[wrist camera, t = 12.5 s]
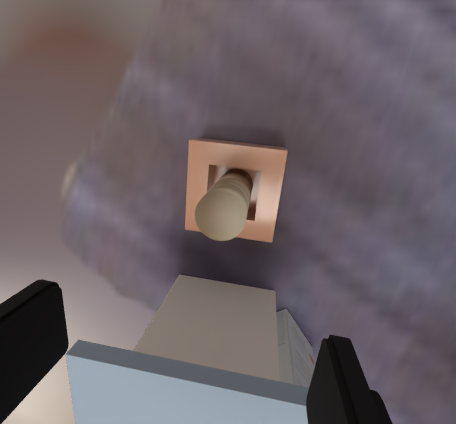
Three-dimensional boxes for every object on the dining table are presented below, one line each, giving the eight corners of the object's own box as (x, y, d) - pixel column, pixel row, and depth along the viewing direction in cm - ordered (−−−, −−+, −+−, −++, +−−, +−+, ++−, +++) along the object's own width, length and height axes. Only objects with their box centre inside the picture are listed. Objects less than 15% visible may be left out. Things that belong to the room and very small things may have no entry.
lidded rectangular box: (290, 250, 34) (321, 409, 15) (280, 300, 36) (295, 491, 17) (173, 232, 35) (65, 354, 16) (172, 282, 38) (77, 436, 19)
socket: (284, 147, 30) (287, 150, 25) (271, 226, 33) (272, 242, 28) (200, 137, 31) (189, 139, 26) (196, 215, 34) (184, 229, 29)
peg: (255, 170, 30) (249, 195, 19) (250, 203, 31) (242, 244, 20) (221, 166, 30) (196, 188, 19) (218, 198, 32) (193, 236, 20)
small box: (248, 322, 38) (240, 414, 26) (286, 306, 36) (296, 397, 24) (275, 361, 40) (279, 464, 28) (313, 347, 38) (335, 452, 26)
